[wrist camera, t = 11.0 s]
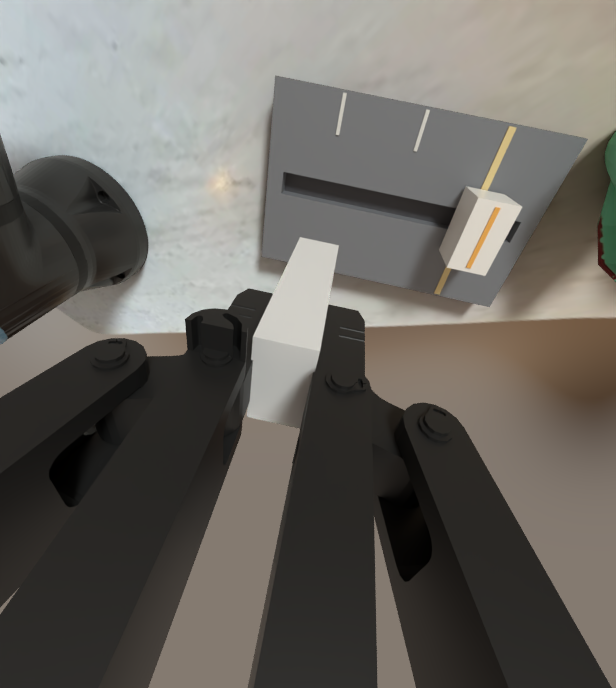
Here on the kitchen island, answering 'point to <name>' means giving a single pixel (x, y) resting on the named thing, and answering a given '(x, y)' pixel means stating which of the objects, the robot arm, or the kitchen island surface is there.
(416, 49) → the kitchen island surface
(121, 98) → the kitchen island surface
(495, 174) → the console
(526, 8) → the kitchen island surface
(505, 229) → the fader tab
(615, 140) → the mug
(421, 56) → the kitchen island surface
